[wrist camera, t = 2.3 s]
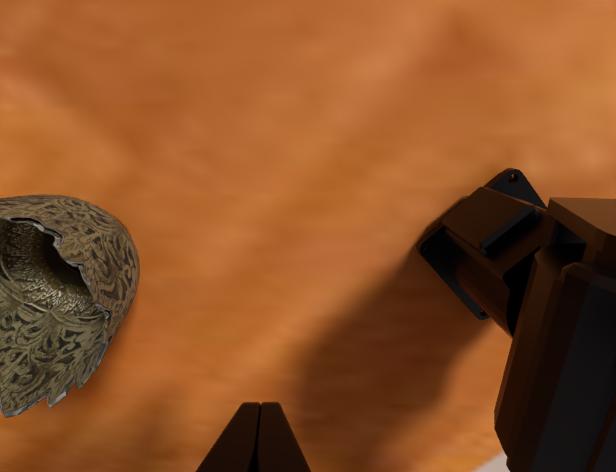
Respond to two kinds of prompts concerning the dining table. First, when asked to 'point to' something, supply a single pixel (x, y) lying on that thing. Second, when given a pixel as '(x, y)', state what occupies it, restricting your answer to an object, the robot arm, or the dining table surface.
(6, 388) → the cup
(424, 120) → the dining table surface
